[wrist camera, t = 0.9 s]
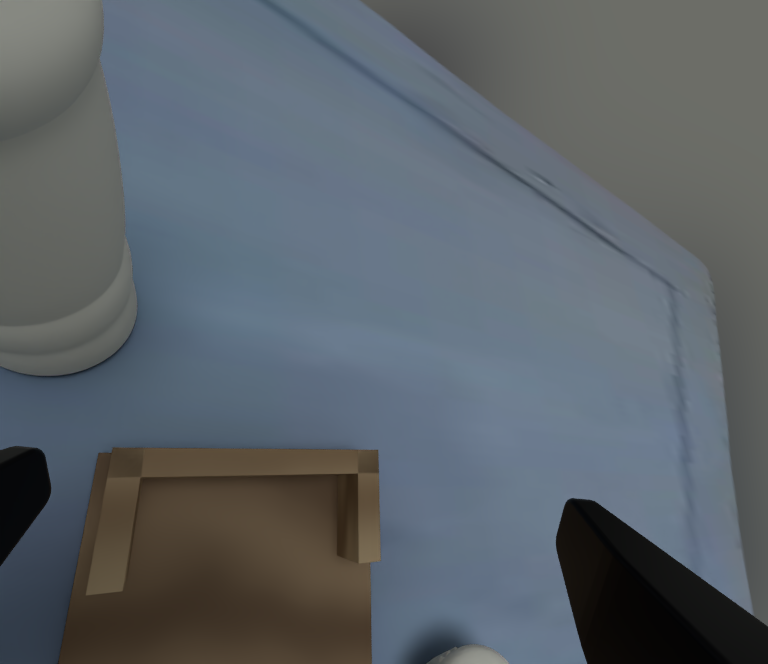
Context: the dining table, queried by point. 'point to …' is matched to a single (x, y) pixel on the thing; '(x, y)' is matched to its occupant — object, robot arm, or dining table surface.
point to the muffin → (469, 656)
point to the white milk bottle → (59, 193)
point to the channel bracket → (226, 558)
